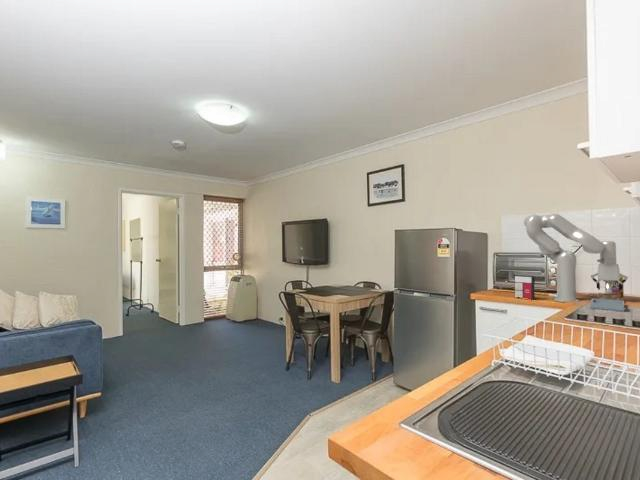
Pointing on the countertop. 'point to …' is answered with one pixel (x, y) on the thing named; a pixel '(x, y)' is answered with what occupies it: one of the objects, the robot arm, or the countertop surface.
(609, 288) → the steel pin
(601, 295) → the socket block
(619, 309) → the tray
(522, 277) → the grey and crimson box
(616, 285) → the candy box
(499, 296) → the countertop surface
